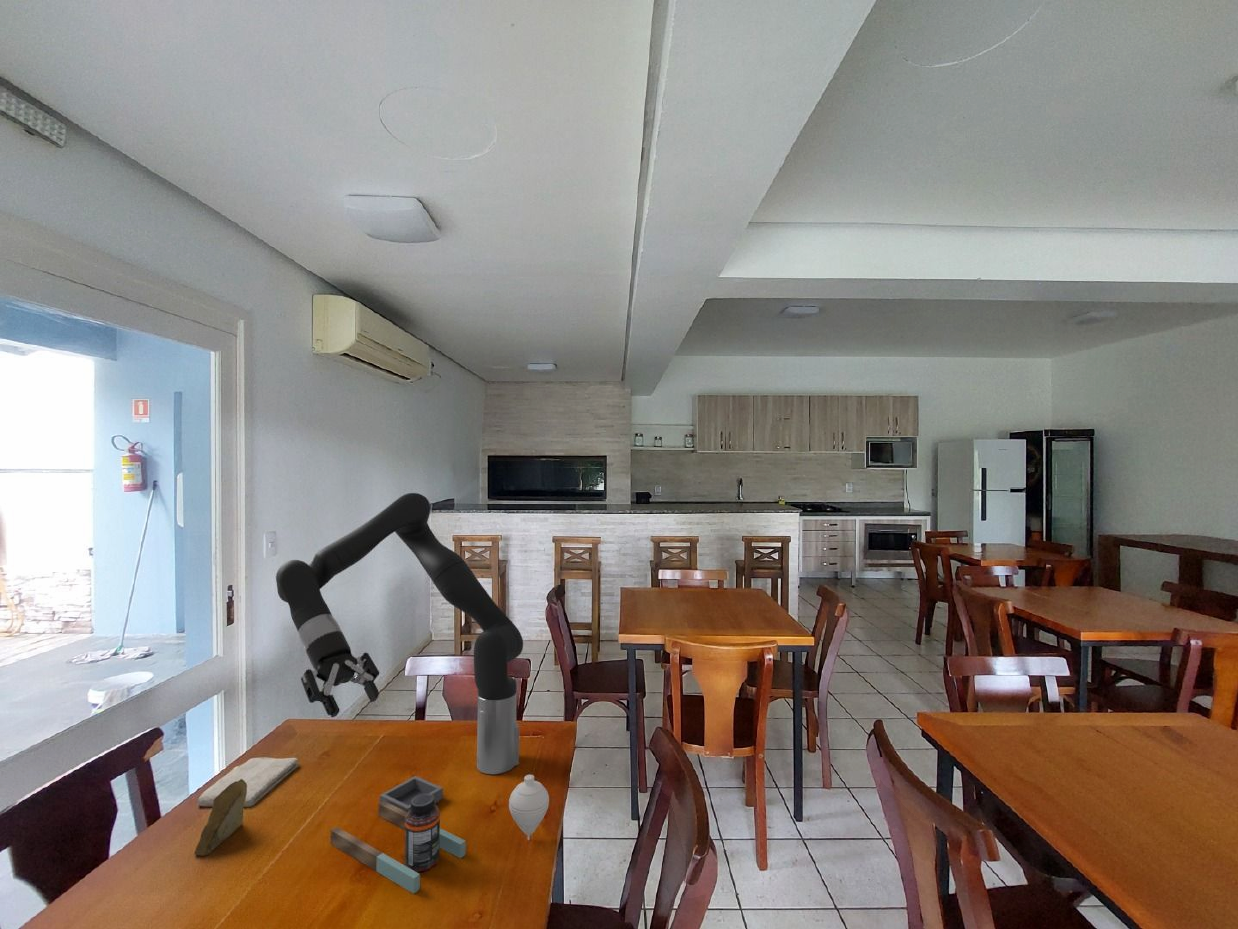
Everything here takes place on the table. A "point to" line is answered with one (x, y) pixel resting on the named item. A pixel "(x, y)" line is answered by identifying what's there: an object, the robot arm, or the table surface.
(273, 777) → the washcloth
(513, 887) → the table surface
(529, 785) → the spinning top
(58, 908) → the table surface
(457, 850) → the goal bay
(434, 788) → the grey square tray
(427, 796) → the supplement bottle
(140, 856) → the table surface
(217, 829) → the rock
